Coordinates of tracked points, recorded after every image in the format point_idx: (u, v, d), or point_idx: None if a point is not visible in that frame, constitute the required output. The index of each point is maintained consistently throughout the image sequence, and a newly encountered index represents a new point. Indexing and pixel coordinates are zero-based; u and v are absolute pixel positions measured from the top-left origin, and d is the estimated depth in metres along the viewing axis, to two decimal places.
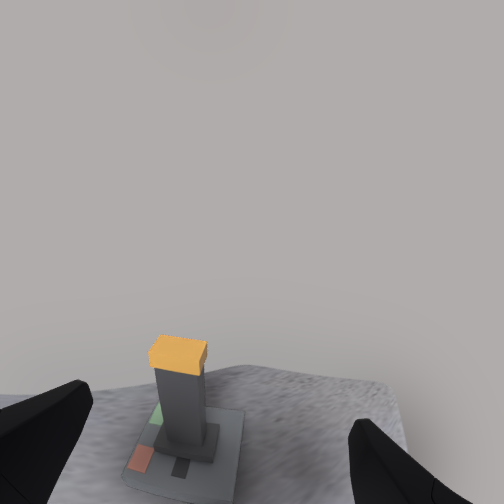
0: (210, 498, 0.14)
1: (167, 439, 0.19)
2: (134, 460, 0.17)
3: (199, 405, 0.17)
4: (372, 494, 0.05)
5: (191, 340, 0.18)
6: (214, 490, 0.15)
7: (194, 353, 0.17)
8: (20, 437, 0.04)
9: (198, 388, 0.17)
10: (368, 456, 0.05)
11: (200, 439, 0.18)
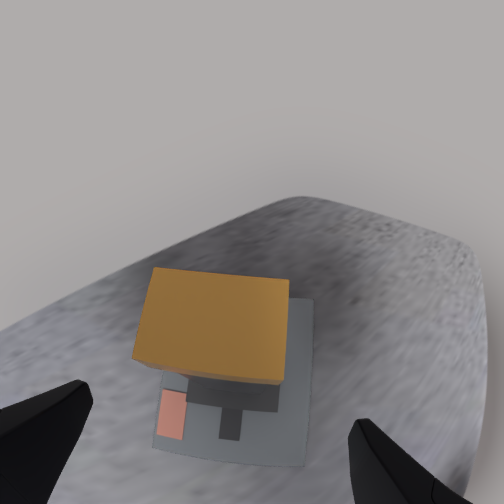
0: None
1: (205, 388, 0.14)
2: (163, 418, 0.14)
3: None
4: (372, 494, 0.05)
5: (243, 282, 0.07)
6: (280, 453, 0.13)
7: (263, 345, 0.06)
8: (19, 437, 0.04)
9: None
10: (368, 456, 0.05)
11: (259, 392, 0.13)
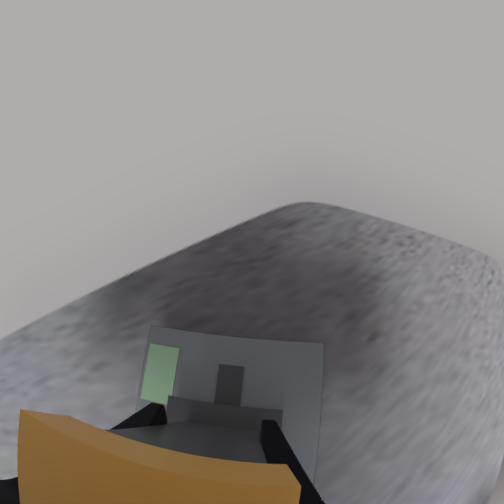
0: None
1: None
2: None
3: None
4: None
5: (186, 490, 0.02)
6: None
7: None
8: None
9: None
10: None
11: None
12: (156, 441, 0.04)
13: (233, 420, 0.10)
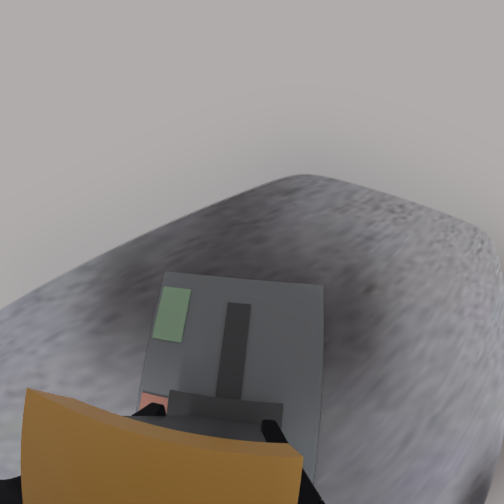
0: None
1: None
2: None
3: None
4: None
5: (192, 461, 0.02)
6: None
7: None
8: None
9: None
10: None
11: None
12: (159, 426, 0.04)
13: (234, 414, 0.10)
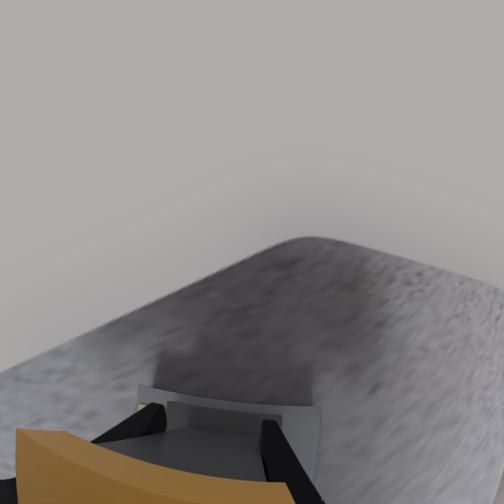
0: None
1: None
2: None
3: None
4: None
5: None
6: None
7: None
8: None
9: None
10: None
11: None
12: (154, 454, 0.04)
13: (232, 426, 0.10)
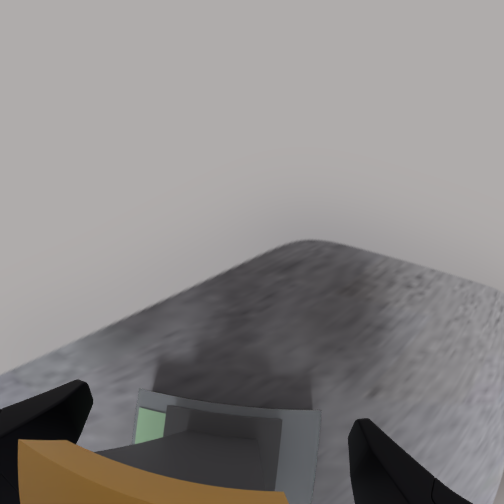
0: None
1: None
2: None
3: None
4: (372, 494, 0.05)
5: None
6: None
7: None
8: (19, 437, 0.04)
9: None
10: (368, 456, 0.05)
11: None
12: (154, 461, 0.04)
13: (232, 430, 0.10)
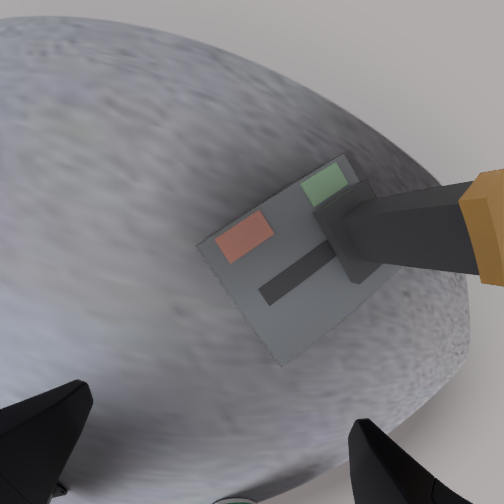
0: (267, 348, 0.16)
1: (340, 218, 0.15)
2: (234, 233, 0.15)
3: None
4: (372, 494, 0.05)
5: None
6: (281, 343, 0.16)
7: None
8: (20, 437, 0.04)
9: None
10: (368, 456, 0.05)
11: (374, 261, 0.15)
12: None
13: None
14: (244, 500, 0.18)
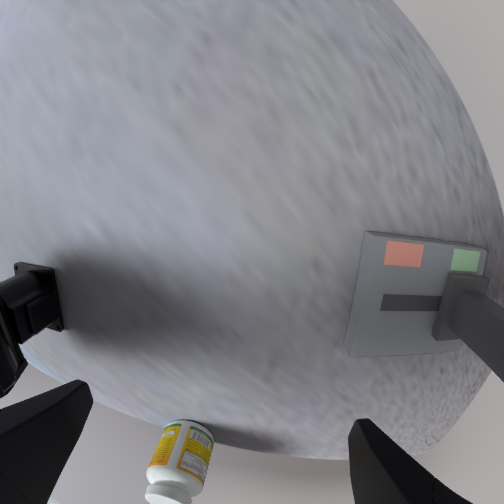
0: (353, 337, 0.18)
1: (461, 291, 0.16)
2: (400, 246, 0.17)
3: (488, 363, 0.11)
4: (372, 494, 0.05)
5: None
6: (364, 340, 0.18)
7: None
8: (19, 437, 0.04)
9: (501, 378, 0.10)
10: (368, 456, 0.05)
11: (457, 334, 0.15)
12: None
13: None
14: (209, 434, 0.24)
